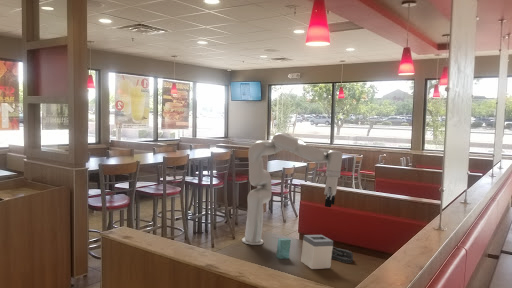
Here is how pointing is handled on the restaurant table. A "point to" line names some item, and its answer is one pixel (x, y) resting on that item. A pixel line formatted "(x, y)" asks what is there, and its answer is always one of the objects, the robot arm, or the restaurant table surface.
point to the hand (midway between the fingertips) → (329, 205)
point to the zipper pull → (342, 255)
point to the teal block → (283, 248)
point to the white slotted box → (316, 251)
